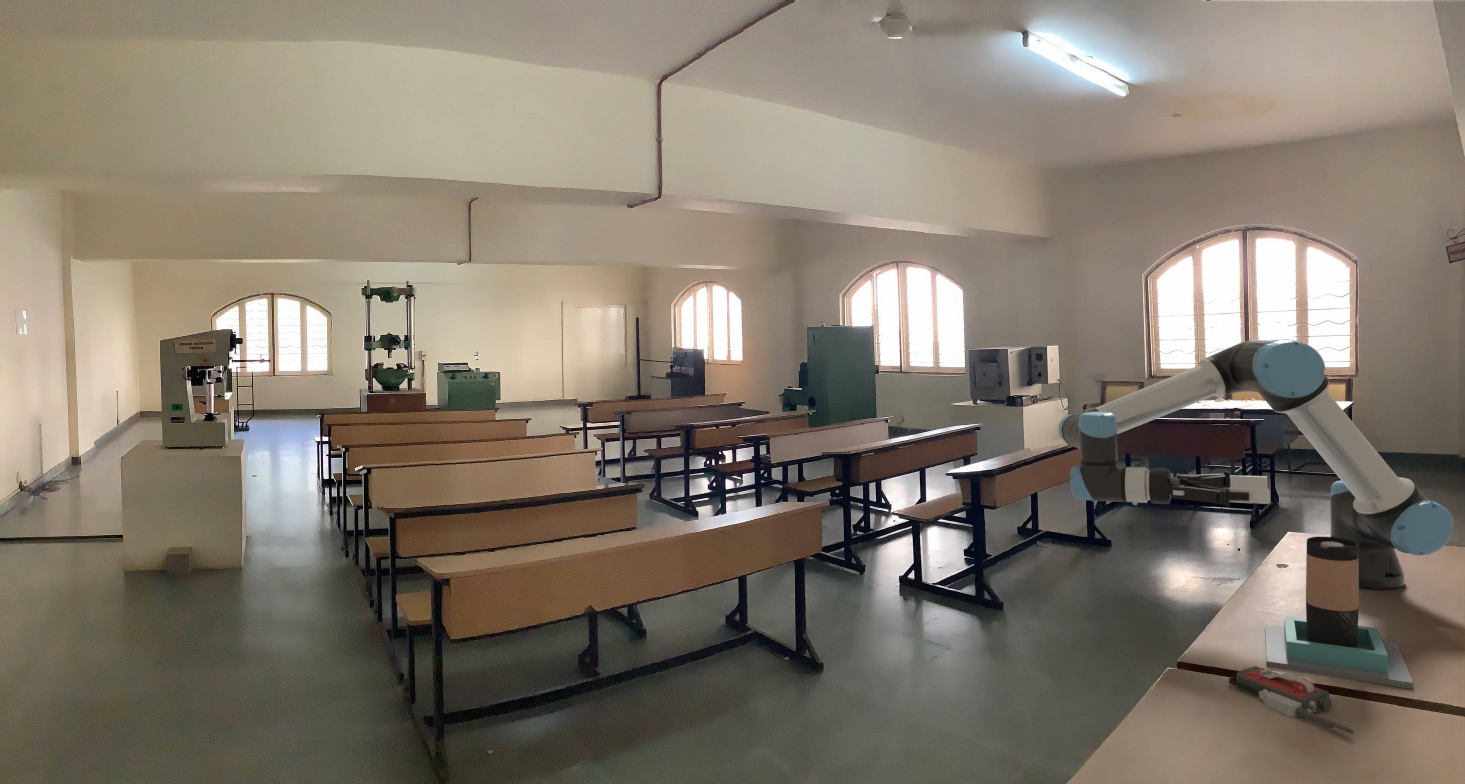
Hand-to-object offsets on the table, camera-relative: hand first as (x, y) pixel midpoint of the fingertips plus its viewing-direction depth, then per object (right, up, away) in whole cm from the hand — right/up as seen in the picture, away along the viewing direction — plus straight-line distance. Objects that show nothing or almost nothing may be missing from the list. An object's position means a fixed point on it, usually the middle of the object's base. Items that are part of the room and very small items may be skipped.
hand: (1268, 489), depth 162 cm
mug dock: (+1, -28, -16) cm, 32 cm away
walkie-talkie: (-18, -31, -34) cm, 49 cm away
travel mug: (+1, -27, -16) cm, 32 cm away
